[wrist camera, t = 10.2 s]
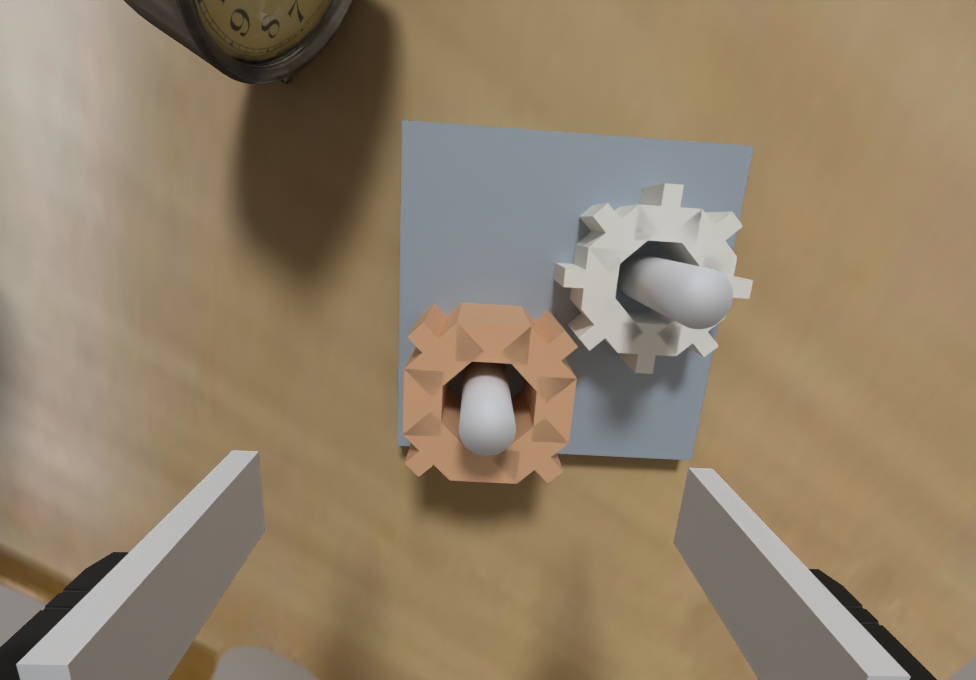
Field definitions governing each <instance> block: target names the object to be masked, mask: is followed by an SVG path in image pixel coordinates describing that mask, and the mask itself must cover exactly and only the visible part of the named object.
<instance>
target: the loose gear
mask: <svg viewBox="0 0 976 680" xmlns="http://www.w3.org/2000/svg"><path fill="white" fill-rule="evenodd" d="M407 337H408V339H409V340H410V341H411V342H412V343H413V344H414V345H415V346H416V347H415V348H414V350H413V352H412V354H411V356H410V358H409V360H408V362H407V364H406V366H405V368H404V395H403V435H404V436H405V437H406V438H407V439H408V440H409V441H410V442H411V444H410V448H409V451H408V454H407V457H406V460H405V464H406V465H407V466H408V467H409V468H410V469H411V470H412V471H413V472H414V473H415V474H416V475H417V476H418V477H419V476H421V475H422V474H423V473H424V472H426V471H427V470H428V469H429V468H430V467H432V466H433V465H434V466H435V467H436V468H437V469H438V470H439V471H441V472H442V473H443V474H444V475H445V476H446V477H447V478H448V479H449V480H450V481H469V482H489V483H510V484H517V483H518V482H520V481H521V480H522V479H524V478H525V477H526V476H527V475H529V474H530V473H531V472H533V471H534V470H535V471H536V472H537V473H538V474H539V475H540V476H541V477H542V478H543V479H544V480H545V481H546V482H547V483H549V482H550V481H551V480H553V479H554V478H555V477H556V476H558V475H559V474H560V473H562V472H563V469H562V466H561V463H560V460H559V457H558V454H557V452H558V451H560V450H561V449H562V448H563V447H565V446H566V445H567V444H569V439H570V430H571V422H572V414H573V406H574V397H575V389H576V381H577V378H576V376H575V375H574V373H573V372H572V370H571V368H570V367H569V365H568V363H567V362H566V360H565V357H567V356H568V355H569V354H570V353H571V352H573V351H574V350H575V349H576V348H578V346H577V345H576V344H575V342H574V341H573V340H572V338H571V337H570V336H569V334H568V333H567V332H566V331H565V329H564V328H563V327H562V325H561V324H560V323H559V322H558V320H557V319H556V318H555V317H554V316H553V315H552V313H551V312H550V311H549V310H548V311H546V312H545V313H544V314H543V315H542V316H541V317H539V318H538V319H537V320H536V321H534V320H533V319H532V318H531V317H530V316H529V314H528V313H527V312H526V311H525V310H524V309H523V308H522V306H510V305H494V304H477V303H461V304H460V305H459V306H458V307H456V308H455V309H454V310H453V311H452V312H451V313H450V314H448V315H447V316H446V315H445V314H444V313H443V312H442V311H441V310H440V309H439V307H438V306H437V305H436V304H435V303H434V304H432V305H431V306H430V307H429V308H428V309H427V310H426V311H425V312H424V313H422V314H421V316H420V317H419V319H418V320H417V322H416V324H415V325H414V327H413V328H412V330H411V332H410V333H409V335H408V336H407ZM471 362H489V363H507V364H512V365H513V366H514V367H515V368H516V369H517V370H518V372H519V373H520V374H521V375H522V376H523V377H524V378H525V380H524V389H523V390H522V391H521V392H520V393H519V394H517V395H516V396H515V397H514V398H512V399H511V400H512V406H513V412H514V418H515V424H516V434H515V438H514V440H513V442H512V443H511V445H510V446H509V447H508V448H507V449H506V450H504V451H503V452H501V453H498V454H496V455H490V456H484V455H479V454H476V453H474V452H472V451H470V450H469V449H468V448H466V447H465V445H464V444H463V443H462V441H461V439H460V436H459V420H460V410H461V401H462V399H461V398H460V397H459V396H458V395H457V394H456V393H455V392H454V391H453V389H452V388H451V387H450V386H449V385H448V382H449V381H450V380H451V379H452V378H453V377H454V376H455V375H457V374H458V373H459V372H460V371H461V370H463V369H464V368H465V367H466V366H467V365H468V364H470V363H471Z"/></svg>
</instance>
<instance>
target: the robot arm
mask: <svg viewBox="0 0 976 680" xmlns="http://www.w3.org/2000/svg"><path fill="white" fill-rule="evenodd" d="M264 531H265V523H264V510H263V496H262V483H261V470H260V457H259V451H236V450H232V451H231V452H230V453H229V454H228V455H227V456H226V457H225V458H224V459H223V460H222V461H221V462H220V463H219V464H218V465H217V466H216V467H215V468H214V469H213V470H212V471H211V472H210V473H209V474H208V475H207V476H206V477H205V478H204V479H203V480H202V481H201V482H200V483H199V484H198V485H197V486H196V487H195V488H194V489H193V490H192V491H191V492H190V493H189V494H188V495H187V496H186V497H185V498H184V499H183V500H182V501H181V502H180V503H179V504H178V505H177V506H176V507H175V508H174V509H173V510H172V511H171V512H170V513H169V514H168V515H167V516H166V517H165V518H164V519H163V520H162V521H161V522H160V523H159V524H158V525H157V526H156V527H155V528H154V529H153V530H152V531H151V532H150V533H148V534H147V535H146V536H145V537H144V538H143V539H142V540H141V541H140V542H139V543H138V544H137V545H136V546H135V547H134V548H133V549H132V550H131V551H130V552H129V553H127V552H113V553H111V554H110V555H108V556H106V557H105V558H103V559H101V560H100V561H98V562H96V563H95V564H93V565H91V566H90V567H88V568H86V569H85V570H84V571H83V572H82V573H81V574H80V575H78V576H77V577H76V578H75V579H74V580H73V581H72V582H71V583H70V584H69V585H68V586H67V587H65V588H64V591H63V593H59V594H58V595H57V596H56V597H55V598H53V599H52V600H51V601H50V602H49V603H48V604H47V605H46V606H45V609H44V610H42V611H40V612H38V613H37V614H36V615H35V616H34V617H33V618H32V619H31V620H30V621H28V622H27V623H26V624H25V625H24V626H23V627H22V628H21V629H20V630H19V631H18V632H16V633H15V634H14V635H13V636H12V637H11V638H10V639H9V640H8V641H7V642H6V643H4V644H3V645H2V646H1V647H0V680H168V678H169V677H170V675H171V674H172V672H173V671H174V669H175V668H176V666H177V665H178V663H179V662H180V660H181V659H182V657H183V655H184V654H185V652H186V651H187V649H188V648H189V646H190V645H191V643H192V642H193V640H194V639H195V637H196V636H197V634H198V632H199V631H200V629H201V628H202V626H203V625H204V623H205V622H206V620H207V619H208V617H209V616H210V614H211V613H212V611H213V609H214V608H215V606H216V605H217V603H218V602H219V600H220V599H221V597H222V596H223V594H224V593H225V591H226V590H227V588H228V586H229V585H230V583H231V582H232V580H233V579H234V577H235V576H236V574H237V573H238V571H239V570H240V568H241V567H242V565H243V563H244V562H245V560H246V559H247V557H248V556H249V554H250V553H251V551H252V550H253V548H254V547H255V545H256V544H257V542H258V540H259V539H260V537H261V536H262V534H263V533H264ZM674 544H675V546H676V547H677V549H678V550H679V552H680V554H681V555H682V557H683V558H684V560H685V562H686V563H687V565H688V566H689V568H690V570H691V571H692V573H693V575H694V576H695V578H696V579H697V581H698V583H699V584H700V586H701V587H702V589H703V591H704V592H705V594H706V595H707V597H708V599H709V600H710V602H711V604H712V605H713V607H714V608H715V610H716V612H717V613H718V615H719V616H720V618H721V620H722V621H723V623H724V624H725V626H726V628H727V629H728V631H729V633H730V634H731V636H732V637H733V639H734V641H735V642H736V644H737V645H738V647H739V649H740V650H741V652H742V653H743V655H744V657H745V658H746V660H747V662H748V663H749V665H750V666H751V668H752V670H753V671H754V673H755V674H756V676H757V678H758V679H759V680H937V679H936V678H935V677H934V676H933V675H932V674H931V673H930V672H929V671H928V670H927V669H926V668H925V667H924V666H923V665H922V664H921V663H920V662H919V661H918V660H917V659H916V658H915V657H914V656H913V655H912V654H911V653H910V652H909V651H908V650H907V649H906V648H905V647H904V646H903V645H902V644H901V643H900V642H899V641H898V640H897V639H896V638H895V637H894V636H893V635H892V634H891V633H890V632H889V631H888V630H887V629H886V628H885V627H884V626H883V625H879V623H878V620H877V619H876V618H875V617H874V616H873V615H872V614H871V613H869V612H868V611H867V610H866V609H863V608H862V605H861V604H860V603H859V602H858V601H857V600H856V599H855V598H854V597H853V596H852V595H851V594H850V593H849V592H848V591H847V590H846V589H845V588H844V587H843V586H842V585H841V584H839V583H838V582H836V581H835V580H833V579H832V578H830V577H829V576H827V575H826V574H825V573H823V572H822V571H820V570H819V569H808V568H807V567H806V566H805V565H804V564H803V563H802V562H801V561H800V560H799V559H798V558H797V557H796V556H795V555H794V554H793V553H792V552H791V551H790V549H789V548H788V547H787V546H786V545H785V544H784V543H783V542H782V541H781V540H780V539H779V538H778V537H777V536H776V535H775V534H774V533H773V532H772V531H771V530H770V529H769V527H768V526H767V525H766V524H765V523H764V522H763V521H762V520H761V519H760V518H759V517H758V516H757V515H756V514H755V513H754V512H753V511H752V510H751V509H750V508H749V507H748V505H747V504H746V503H745V502H744V501H743V500H742V499H741V498H740V497H739V496H738V495H737V494H736V493H735V492H734V491H733V490H732V489H731V488H730V487H729V486H728V484H727V483H726V482H725V481H724V480H723V479H722V478H721V477H720V476H719V475H718V474H717V473H716V472H715V471H714V470H713V469H706V468H689V469H688V474H687V479H686V483H685V488H684V493H683V498H682V503H681V508H680V513H679V518H678V523H677V528H676V533H675V537H674Z"/></svg>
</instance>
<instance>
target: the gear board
mask: <svg viewBox="0 0 976 680" xmlns="http://www.w3.org/2000/svg"><path fill="white" fill-rule="evenodd" d="M753 148H754V146H747V145H734V144H720V143H706V142H693V141H679V140H665V139H652V138H638V137H624V136H610V135H597V134H583V133H569V132H556V131H542V130H528V129H515V128H501V127H487V126H473V125H460V124H446V123H432V122H419V121H405V120H402V164H401V233H400V302H399V371H398V440H397V446H410V444H411V442H410V441H409V440H408V439H407V438H406V437H405V436H404V435H403V395H404V368H405V366H406V364H407V362H408V360H409V358H410V356H411V354H412V352H413V350H414V348H415V347H416V346H415V345H414V344H413V343H412V342H411V341H410V340H409V339H408V337H407V336H408V335H409V333H410V332H411V330H412V328H413V327H414V325H415V324H416V322H417V320H418V319H419V317H420V316H421V314H422V313H424V312H425V311H426V310H427V309H428V308H429V307H430V306H431V305H432V304H434V303H435V304H436V305H437V306H438V307H439V309H440V310H441V311H442V312H443V313H444V314H445V315H446V316H447V315H448V314H450V313H451V312H452V311H453V310H454V309H455V308H456V307H458V306H459V305H460V304H461V303H477V304H494V305H510V306H522V308H523V309H524V310H525V311H526V312H527V313H528V314H529V316H530V317H531V318H532V319H533V320H534V321H536V320H537V319H538V318H539V317H541V316H542V315H543V314H544V313H545V312H546V311H548V310H549V311H550V312H551V313H552V315H553V316H554V317H555V318H556V319H557V320H558V322H559V323H560V324H561V325H562V327H563V328H564V329H565V331H566V332H567V333H568V334H569V336H570V337H571V338H572V340H573V341H574V342H575V344H576V345H577V346H578V348H576V349H575V350H574V351H573V352H571V353H570V354H569V355H568V356H567V357H565V360H566V362H567V363H568V365H569V367H570V368H571V370H572V372H573V373H574V375H575V376H576V378H577V381H576V389H575V397H574V406H573V414H572V422H571V430H570V439H569V444H567V445H566V446H565V447H563V448H562V449H561V450H560V451H558V452H557V454H574V455H594V456H614V457H634V458H654V459H673V460H692V455H693V450H694V445H695V440H696V435H697V430H698V425H699V420H700V415H701V410H702V405H703V399H704V394H705V389H706V384H707V379H708V374H709V369H710V364H711V359H712V354H713V350H714V349H716V348H717V347H718V344H717V343H716V342H715V339H716V334H717V329H718V324H719V322H721V321H722V320H723V319H725V316H726V315H727V313H728V312H729V310H730V308H731V305H732V301H733V298H747V299H749V297H750V293H751V288H752V283H753V280H749V279H745V278H740V277H736V276H734V271H735V266H736V262H737V256H736V255H735V253H734V252H733V249H734V244H735V239H736V234H737V231H738V230H739V229H740V228H742V227H743V226H742V224H741V223H740V221H739V219H740V214H741V209H742V204H743V199H744V193H745V188H746V183H747V178H748V173H749V168H750V163H751V158H752V153H753ZM524 380H525V378H524V377H523V376H522V375H521V374H520V373H519V372H518V370H517V369H516V368H515V367H514V366H513V365H512V364H507V363H489V362H471V363H470V364H468V365H467V366H466V367H465V368H464V369H463V370H461V371H460V372H459V373H458V374H457V375H455V376H454V377H453V378H452V379H451V380H450V381H449V382H448V385H449V386H450V387H451V388H452V389H453V391H454V392H455V393H456V394H457V395H458V396H459V397H460V398H461V399H462V401H461V410H460V420H459V436H460V439H461V441H462V443H463V444H464V445H465V447H466V448H468V449H469V450H470V451H472V452H474V453H476V454H479V455H484V456H490V455H496V454H498V453H501V452H503V451H504V450H506V449H507V448H508V447H509V446H510V445H511V443H512V442H513V440H514V438H515V434H516V424H515V418H514V412H513V406H512V400H511V399H512V398H514V397H515V396H516V395H517V394H519V393H520V392H521V391H522V390H523V389H524Z"/></svg>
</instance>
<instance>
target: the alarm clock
mask: <svg viewBox="0 0 976 680" xmlns="http://www.w3.org/2000/svg"><path fill="white" fill-rule="evenodd" d="M124 1H125V2H126V3H127V4H128V5H129V6H130V7H131V8H133V9H134V10H135V11H136V12H137V13H138V14H139V15H140V16H142V17H143V18H144V19H146V20H147V21H148V22H150V23H151V24H153V25H154V26H155V27H157V28H158V29H160V30H161V31H163V32H164V33H165V34H167V35H168V36H170V37H171V38H173V39H174V40H176V41H177V42H179V43H180V44H182V45H183V46H185V47H186V48H188V49H189V50H191V51H192V52H193V53H195V54H196V55H198V56H199V57H201V58H202V59H204V60H205V61H206V62H208V63H209V64H211V65H212V66H213V67H215V68H216V69H218V70H219V71H220V72H222V73H223V74H225V75H227V76H228V77H230V78H232V79H234V80H237V81H239V82H243V83H248V84H257V85H259V84H268V83H273V82H277V81H279V80H281V81H282V82H284V83H287V84H288V83H290V82H291V81H292V74H294V73H296V72H298V71H299V70H301V69H302V68H303V67H305V66H306V65H307V64H308V63H310V62H311V61H312V60H313V59H314V58H315V57H316V56H317V55H318V54H319V53H320V52H321V50H322V49H323V48H324V47H325V46H326V45H327V44H328V42H329V41H330V40H331V39H332V37H333V36H334V34H335V33H336V31H337V30H338V28H339V27H340V25H341V23H342V21H343V20H344V18H345V16H346V14H347V12H348V10H349V8H350V6H351V4H352V2H353V0H124Z"/></svg>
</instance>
